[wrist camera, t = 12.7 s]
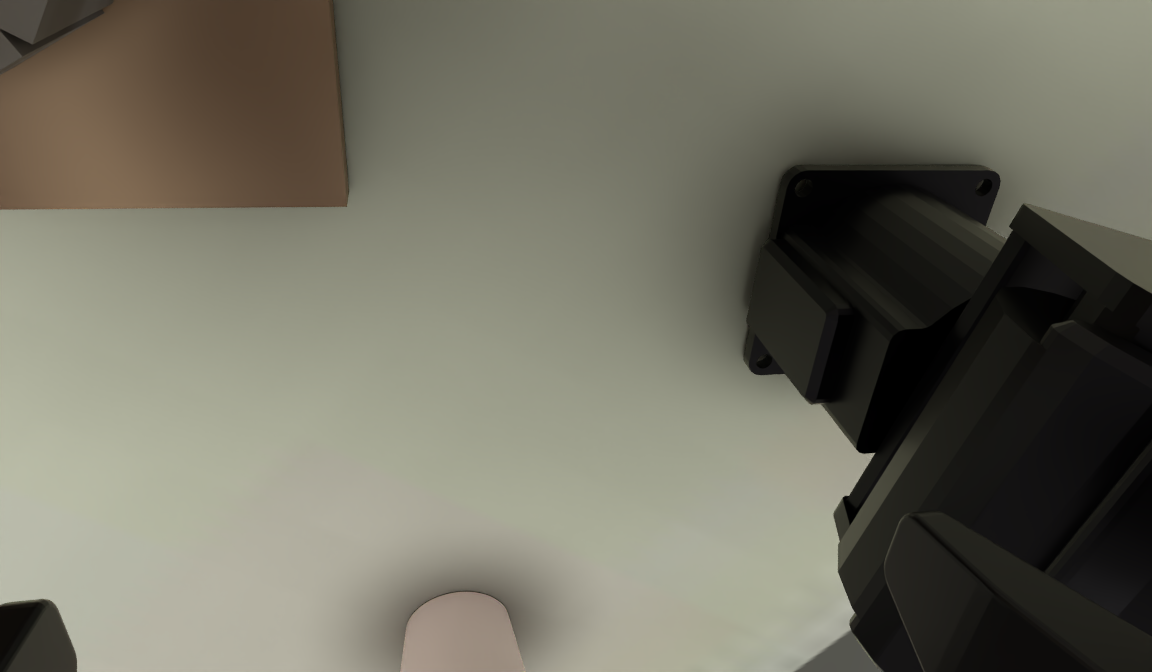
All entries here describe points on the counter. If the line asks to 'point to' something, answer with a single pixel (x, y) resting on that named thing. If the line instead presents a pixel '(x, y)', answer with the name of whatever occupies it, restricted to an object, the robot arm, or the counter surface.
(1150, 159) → the counter surface
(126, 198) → the ring socket
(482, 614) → the smoothie
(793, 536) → the counter surface
